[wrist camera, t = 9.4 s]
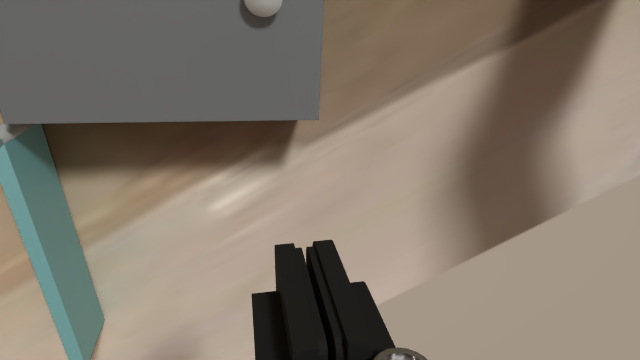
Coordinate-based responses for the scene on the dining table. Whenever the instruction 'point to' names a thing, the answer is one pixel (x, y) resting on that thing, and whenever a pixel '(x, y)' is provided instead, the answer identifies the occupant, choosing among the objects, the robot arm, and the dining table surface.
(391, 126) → the dining table surface
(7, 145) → the side door
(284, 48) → the camera body
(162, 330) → the dining table surface
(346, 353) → the robot arm
